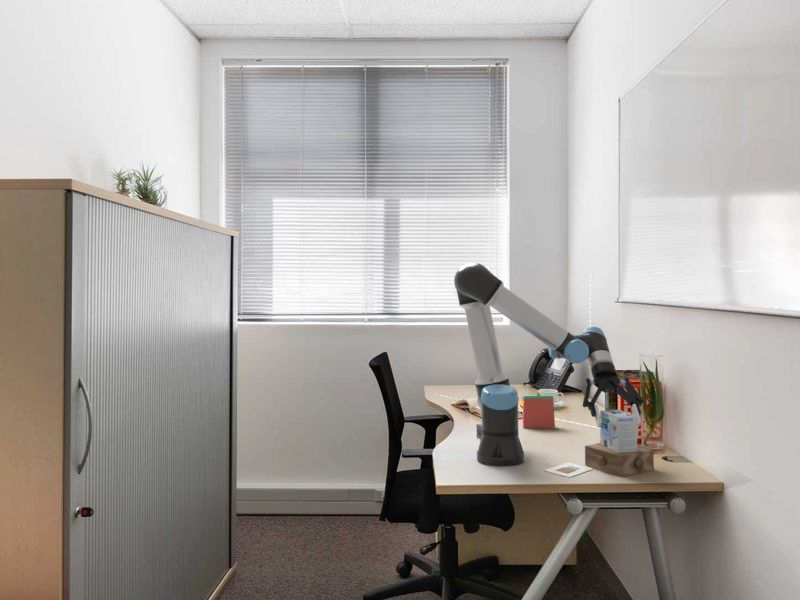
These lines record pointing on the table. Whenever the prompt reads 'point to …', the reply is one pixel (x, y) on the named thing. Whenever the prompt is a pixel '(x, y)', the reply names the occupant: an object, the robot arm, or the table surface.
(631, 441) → the light bulb box
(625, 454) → the base brick
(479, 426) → the dice cube
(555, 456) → the table surface
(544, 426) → the toy building block set
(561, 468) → the white picture frame
